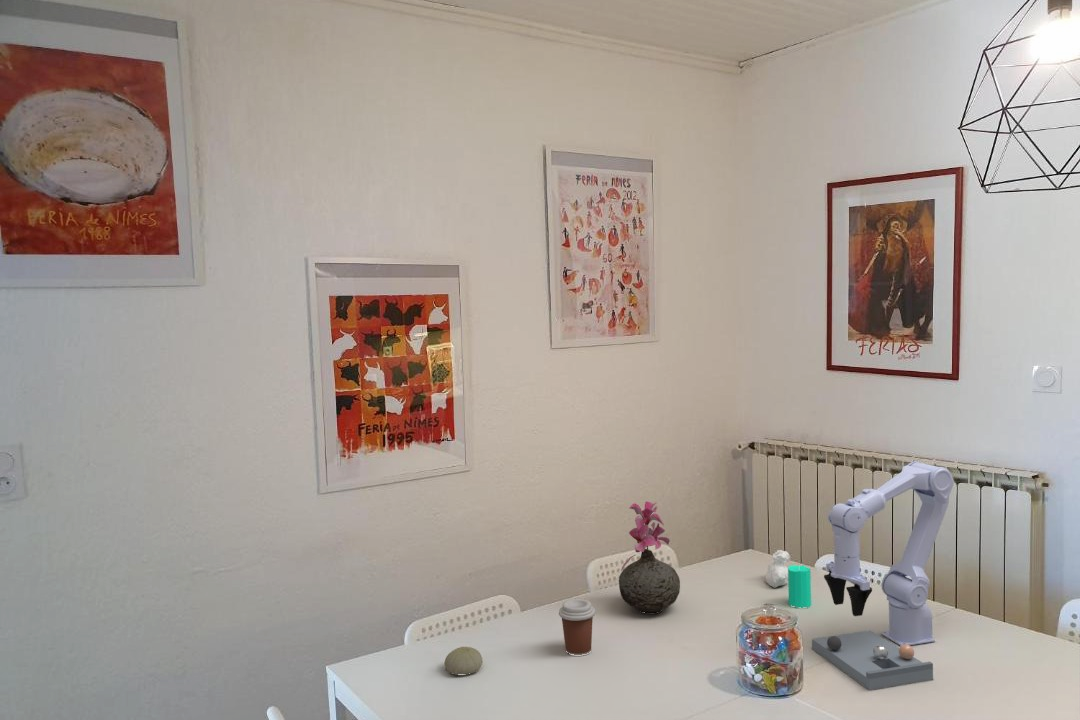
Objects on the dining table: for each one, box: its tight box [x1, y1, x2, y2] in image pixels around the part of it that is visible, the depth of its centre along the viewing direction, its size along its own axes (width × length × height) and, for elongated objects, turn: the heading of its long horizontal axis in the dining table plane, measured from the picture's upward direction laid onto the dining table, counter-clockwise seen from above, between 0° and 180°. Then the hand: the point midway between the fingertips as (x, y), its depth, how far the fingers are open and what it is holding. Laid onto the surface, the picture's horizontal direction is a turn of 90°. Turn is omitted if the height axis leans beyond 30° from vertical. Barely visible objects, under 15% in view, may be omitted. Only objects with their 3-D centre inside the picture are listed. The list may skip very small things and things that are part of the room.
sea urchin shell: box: [444, 646, 484, 676], centre depth 187 cm, size 9×8×8 cm
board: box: [811, 630, 934, 691], centre depth 181 cm, size 16×22×4 cm
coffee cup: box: [558, 598, 596, 655], centre depth 194 cm, size 9×9×12 cm
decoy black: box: [827, 635, 842, 650], centre depth 183 cm, size 3×3×3 cm
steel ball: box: [873, 645, 888, 660], centre depth 177 cm, size 3×3×3 cm
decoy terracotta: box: [898, 644, 915, 659], centre depth 177 cm, size 3×3×3 cm
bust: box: [764, 549, 791, 589], centre depth 235 cm, size 12×8×11 cm
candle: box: [787, 564, 812, 608], centre depth 217 cm, size 6×6×12 cm
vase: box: [618, 500, 681, 614], centre depth 218 cm, size 17×17×30 cm
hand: (847, 609), depth 188 cm, fingers open, 7 cm apart
